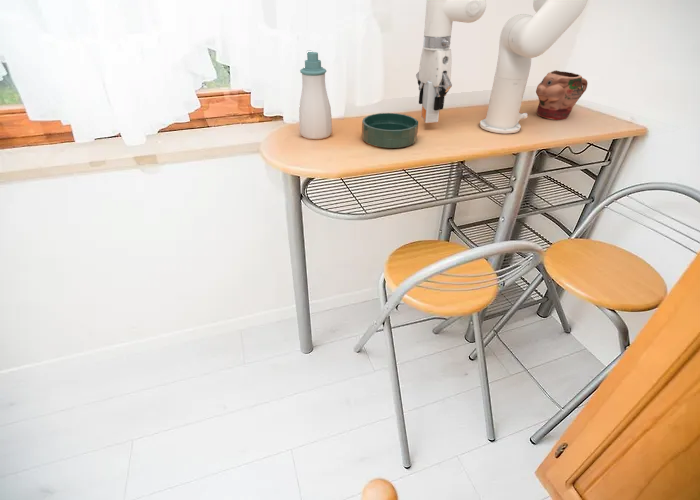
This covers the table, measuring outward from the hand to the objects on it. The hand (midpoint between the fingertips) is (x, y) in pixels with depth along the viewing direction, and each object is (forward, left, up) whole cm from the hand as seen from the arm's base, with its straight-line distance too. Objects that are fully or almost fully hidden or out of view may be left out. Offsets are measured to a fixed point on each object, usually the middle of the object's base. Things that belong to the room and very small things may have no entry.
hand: (430, 106), depth 124 cm
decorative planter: (-48, +9, -7) cm, 50 cm away
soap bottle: (+35, -10, -7) cm, 37 cm away
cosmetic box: (0, 0, -4) cm, 4 cm away
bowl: (+17, +3, -7) cm, 18 cm away
